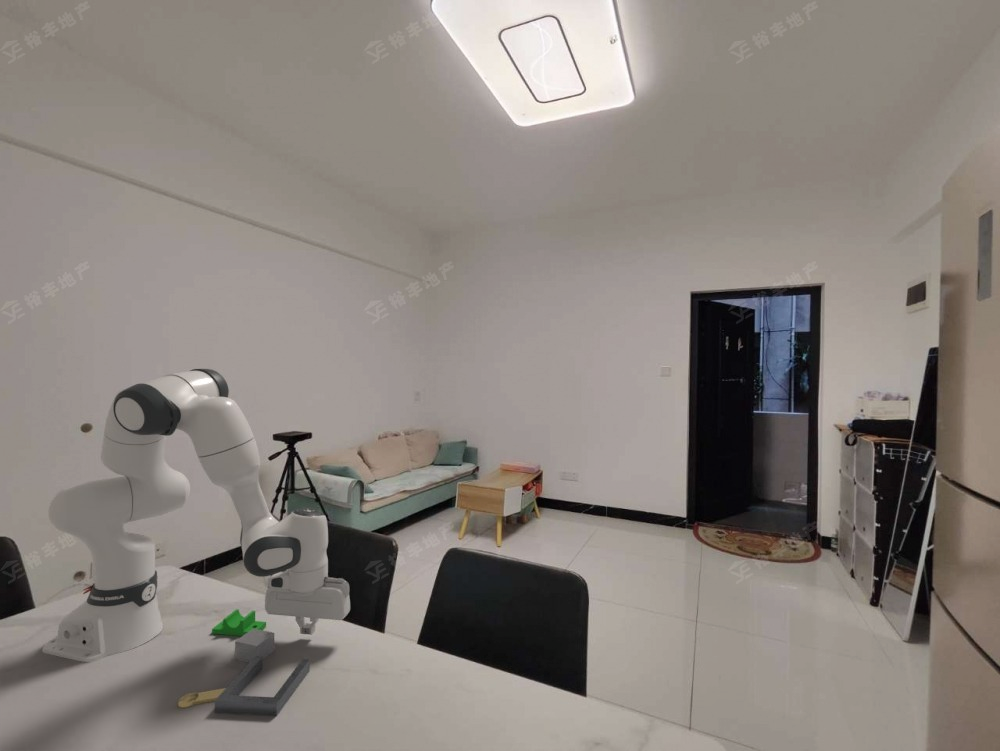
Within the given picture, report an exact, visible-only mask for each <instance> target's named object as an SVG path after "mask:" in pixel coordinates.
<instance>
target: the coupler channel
mask: <svg viewBox="0 0 1000 751" xmlns="http://www.w3.org/2000/svg"><path fill="white" fill-rule="evenodd" d="M310 660H311V659H310V658H302V659H301V661H300V662H299V663H298V665H297V666H296V667H295V668H294V670H293V671H292V673H291V674H290V675H289V676H288V677H287V679H286V680H285V681H284V683H283V685H281V687H280V689H279V690H278V691H277V692H276V693H275V695H274V696H272V697H271V696H253V695H241V693H242V692H244V690H245V689H246V688H247V686H249V685H250V684H251V682H252V681H253V680H254V679H255V678H256V677H257V676H258V674H259V673H260V672H261V671H262V670H263V660H262V657H255V658H254V659H253V660H252V661H251V662H250V663H249V662H248V664H247V665H246V666H245V667H244V668H243V669H242V671H240V673H238V675H237V676H236V677H235V678H234V679H233V680H232V681H231V682H230V683H229V684H228V686H227V687H225V688H226V689H225V690H224V691H223V692H222V693H221V694H220V695H219V696H218V698H217V699H216V700H215V701H214V714H227V715H229V714H230V715H249V716H264V717H265V716H266V715H267V716H268V717H269V716H270V717H278V715H279V714H280V712H281V711H282V710H283V708H284V707H285V706H286V704H288V702H289V700H290V699H291V697H292V696H293V694H294V693H295V692H296V690H298V688H299V687H300V685H301V684H302V682H303V681H304V680H305V679H306V677H307V675H308V674H309V673H310V668H311V667H310V665H311V664H310V663H311V662H310Z"/></svg>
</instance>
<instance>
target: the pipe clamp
mask: <svg viewBox="0 0 1000 751" xmlns="http://www.w3.org/2000/svg"><path fill="white" fill-rule="evenodd" d="M266 627H267V621H259V620H256V610H251V611H250V612H249V613H248V614H247V615H246V616H243V614H241V612H240V609H238V608H237V609H235V610H234V611H232V612H231V613H229V614H228V615H227V616H225V617H224V618H223V619H222V621H221V622H219V623H218V624H216V625H215V626H214V627H212V628H211V634H214V635H227V636H237V637H238V636H239V637H242V636H243V635H245V634H246V633H248V632H249V631H250V630H252V629H258V630H263V631H264V629H265V628H266Z"/></svg>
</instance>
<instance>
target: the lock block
mask: <svg viewBox="0 0 1000 751" xmlns="http://www.w3.org/2000/svg"><path fill="white" fill-rule="evenodd" d="M274 651H275V632H273V631H266V630H264V629H263V630H258V629H252V630H250V631H249V632H248V633H246V634H245V635H243V636H239V638H237V639H236V640H235V641H234V660H235V661H241V662H245V663H248V664H249V663H250V662H251V661H252V660H253V659H254V658H255V657H262V661H263V660H265V659H266V658H267V657H269V655H271V654H272V653H273V652H274Z"/></svg>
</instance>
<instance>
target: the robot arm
mask: <svg viewBox="0 0 1000 751" xmlns="http://www.w3.org/2000/svg"><path fill="white" fill-rule="evenodd" d="M228 385H229V384H228V382H227V381H226V379H225V378H224V377H223V375H222V374H220V373H219V372H218V371H216V370H215V369H211V368H193V369H191V370H186V371H180V372H174V373H170V374H165V375H163V376H161V377H157V378H154V379H150V380H148V381H146V382H143V383H136V384H134V385H131V386H127V387H124V388H122V389H121V390H119V391H118V392H117V393H116V395H115V396H114V397H113V400H112V402H111V405H110V408H109V410H108V412H107V417H106V420H105V426H104V431H103V439H102V445H101V452H100V453H101V454H100V460H101V462H102V464H103V466H105V467H106V469H108V470H109V471H111V472H113V473H115V474H117V475H121V476H117V477H111V478H105V479H98V480H90V481H86V482H83V483H79V484H75V485H72V486H69V487H66V488H62V489H61V490H60V491H59V492H57V493H56V494H55V496H54V497H53V498H52V500H51V501H50V504H49V507H48V518H49V521H50V522H51V524H52V525H53V527H54V528H56V529H57V530H58V531H61V532H63V533H65V534H69V535H71V536H74V537H76V538H78V540H80V541H81V542H83V544H84V545H86V546H87V548H88V549H89V551H90V553H91V554H90V555H91V557H92V562H93V574H94V577H93V578H94V582H93V583H92V585H89V586H88V587H86V588H84V589H82V591H84V592H83V593H82V594H83V595H85V594H87V593H89V595H88V596H87V599H86V600H85V601H84V602H83V603H81V604H80V605H78V606H77V607H76V608H74V609H73V610H72V611H71V612H69V613H68V614H67V615H65V617H63V619H61V621H60V623H59V624H58V630H57V635H56V636H54V637H53V638H52V639H50V640H49V641H48V642H46V644H45V645H44V646H43V647H42V650H41V651H42V653H43V654H46V655H51V656H57V657H60V658H65V659H70V660H72V661H73V660H74V661H79V662H83V663H92V662H95V661H98V660H102V659H103V658H105V657H109V656H113V655H116V654H121V653H124V652H127V651H130V650H132V649H136V648H137V647H140V646H141V645H144V644H146V643H148V642H149V641H151V640H152V639H154V638H156V636H158V635H159V634H160V633H161V632H162V630H163V629H164V623H163V620H162V615H161V614H162V613H161V611H160V609H159V608H160V607H159V602H158V595H157V589H158V572H157V571H158V570H156V544H155V542H154V540H153V539H152V538H151V537H150V536H146V535H143V534H139V533H133V532H129V531H128V532H127V531H125V530H124V525H125V524H128V523H130V522H134V521H135V522H137V521H140V520H146V519H150V518H153V517H155V518H156V517H158V516H162V515H166V514H168V513H171V512H173V511H176V510H178V509H179V510H180V509H181V508H183V507H184V505H185V504H186V503H187V501H188V500H189V499H190V495H191V490H192V489H191V484H190V480H189V479H188V478H187V476H186V475H185V474H184V473H182V472H181V471H178V470H176V469H174V468H172V467H171V466H170V465H168V463H167V460H166V458H165V450H166V448H165V447H166V441H167V436H171V435H173V434H174V433H175V432H176V430H179V431H182V432H184V433H185V434H186V435H188V437H189V438H190V440H191V441H192V442H191V443H192V445H193V447H194V451H195V453H196V456H197V458H198V460H199V463H200V466H201V468H202V469H203V471H204V473H205V475H206V476H207V478H208V479H209V480H210V481H211V483H212V484H213V485H215V486H218V487H220V488H222V489H224V490H225V491H226V492H227V494H228V495H229V496H230V498H231V500H232V503H233V506H234V507H235V509H236V512H237V515H238V517H239V520H240V523H241V528H240V529H241V530H240V537H239V538H240V539H239V544H240V546H241V547H240V548H241V551H242V559H243V560H242V561H243V564H244V568H245V570H246V571H248V572H247V573H249V574H251V575H253V576H255V577H263V578H264V577H269V578H268V579H267V581H266V582H267V589H266V592H265V596H264V610H265V612H266V614H268V615H273V616H276V615H277V616H285V617H295V622H296V623H297V626H298V627H299V634H300V635H310V636H312V635H314V633H315V631H316V625H317V623H318V622H319V619H321V620H333V621H342V620H344V618H346V616H348V614H349V613H350V612H351V599H350V584H349V582H348V581H346V580H345V579H344V578H343V577H341V578H340V577H338V578H336V577H330V576H329V574H328V573H329V559H328V554H327V549H328V547H329V546H328V545H329V528H328V520H327V517H326V514H324V513H323V511H321V510H320V509H317V508H315V507H300V508H296V509H294V510H292V511H291V512H290V513H289V514H288V515H287V516H286V517H284V518H283V519H281V520H280V518H278V517H277V516H276V515H275V514H274V513H272V512H271V510H270V509H269V506H268V503H267V501H266V498H265V496H264V492H263V491H262V488H261V486H260V480H259V474H260V469H261V464H262V463H261V457H260V451H259V447H258V443H257V441H256V437H255V435H254V433H253V430H252V428H251V426H250V424H249V422H248V420H247V418H246V416H245V414H244V412H243V411H242V409H241V408H240V406H239V405H238V404H237V402H236V401H235V400H234V399H232V398H230V397H229V395H230V394H229V393H230V392H229V386H228ZM306 618H308V619H309V622H311V623H308V622H307V621H306Z"/></svg>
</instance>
